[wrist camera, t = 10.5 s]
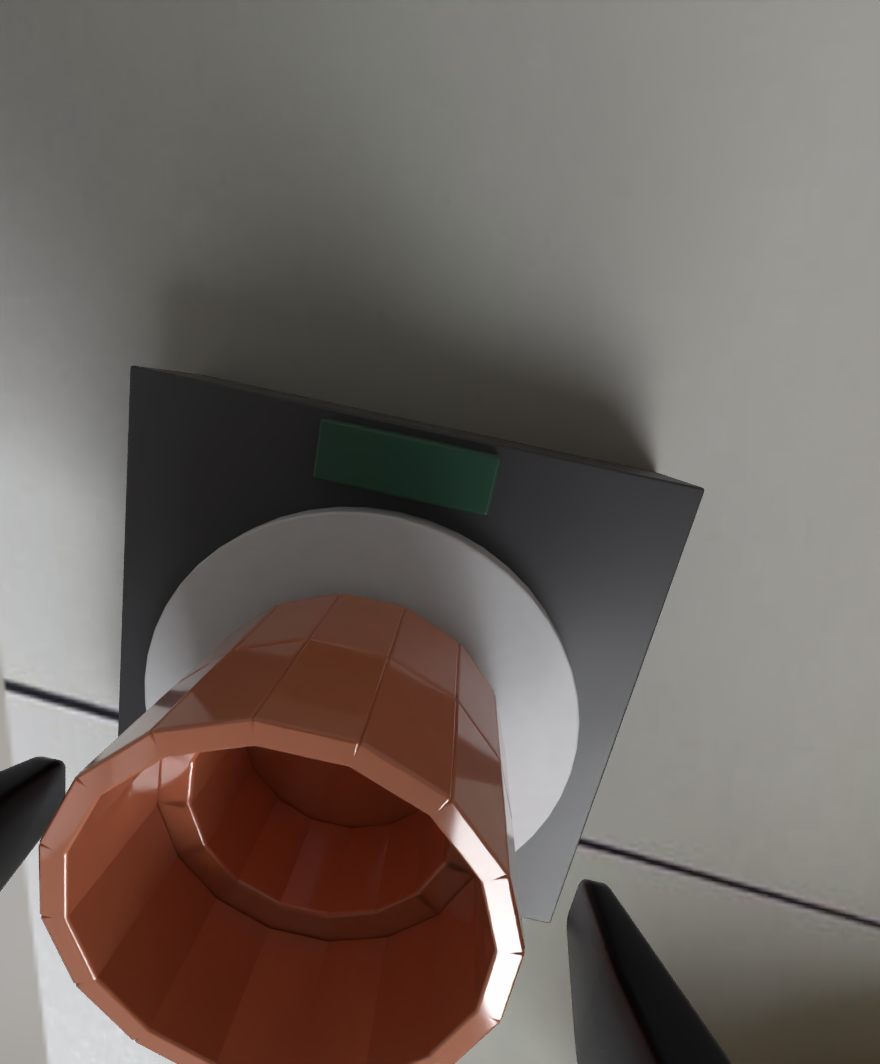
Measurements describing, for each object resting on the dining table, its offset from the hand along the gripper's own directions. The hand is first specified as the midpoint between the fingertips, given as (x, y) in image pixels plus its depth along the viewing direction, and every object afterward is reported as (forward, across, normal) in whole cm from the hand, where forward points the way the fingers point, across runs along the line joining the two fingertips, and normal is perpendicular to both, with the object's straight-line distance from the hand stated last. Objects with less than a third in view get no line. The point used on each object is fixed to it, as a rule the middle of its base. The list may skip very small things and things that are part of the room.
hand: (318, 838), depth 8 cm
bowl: (+3, 0, 0) cm, 3 cm away
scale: (+6, 0, -1) cm, 6 cm away
